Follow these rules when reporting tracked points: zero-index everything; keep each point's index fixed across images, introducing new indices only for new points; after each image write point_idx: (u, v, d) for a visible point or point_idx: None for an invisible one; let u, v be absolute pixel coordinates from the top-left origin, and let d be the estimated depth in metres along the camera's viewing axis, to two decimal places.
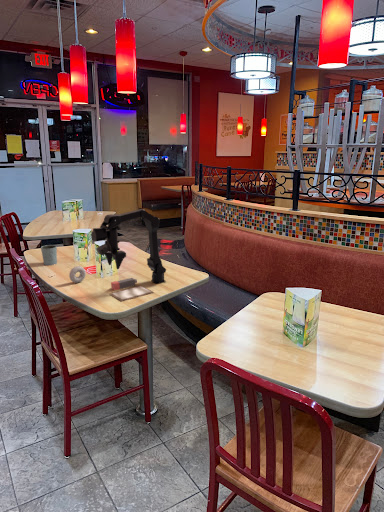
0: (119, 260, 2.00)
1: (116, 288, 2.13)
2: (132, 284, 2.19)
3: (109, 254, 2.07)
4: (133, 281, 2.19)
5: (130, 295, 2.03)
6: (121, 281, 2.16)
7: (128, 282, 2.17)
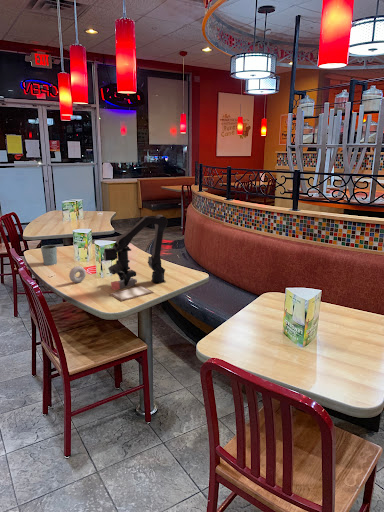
0: (127, 278, 2.14)
1: (116, 288, 2.13)
2: (132, 284, 2.19)
3: (122, 274, 2.18)
4: (133, 281, 2.19)
5: (130, 295, 2.03)
6: (121, 281, 2.16)
7: (128, 282, 2.17)
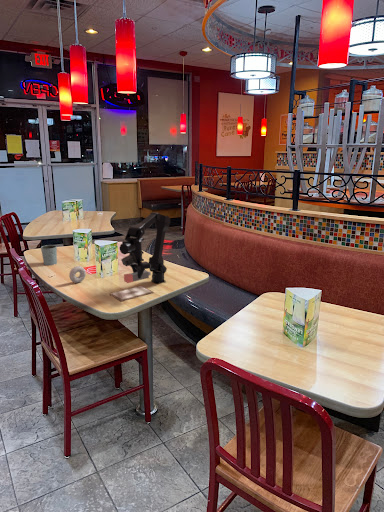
0: (141, 270, 2.04)
1: (129, 281, 2.03)
2: (146, 276, 2.09)
3: (135, 266, 2.08)
4: (147, 273, 2.09)
5: (130, 295, 2.03)
6: (134, 273, 2.06)
7: None
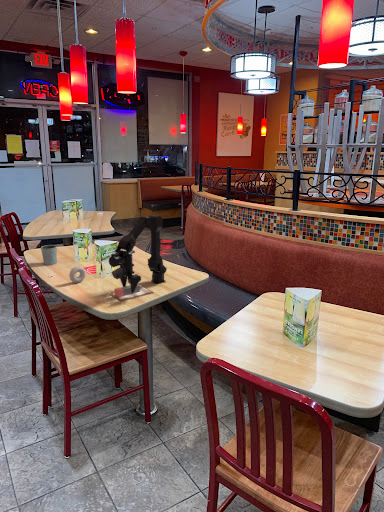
0: (134, 284, 2.00)
1: (120, 295, 2.01)
2: (137, 290, 2.07)
3: (123, 277, 2.08)
4: (138, 287, 2.07)
5: (130, 295, 2.03)
6: (125, 287, 2.04)
7: None
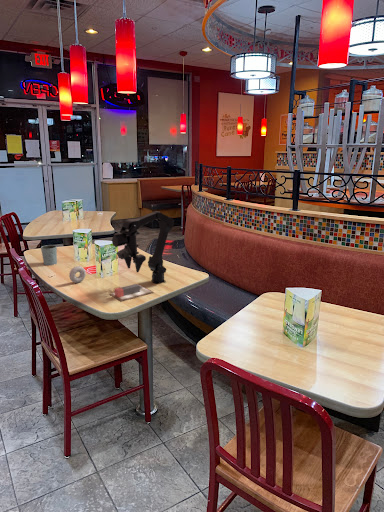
0: (139, 263, 2.06)
1: (120, 295, 2.01)
2: (137, 290, 2.07)
3: (128, 258, 2.14)
4: (138, 287, 2.07)
5: (130, 295, 2.03)
6: (125, 287, 2.04)
7: (132, 288, 2.05)
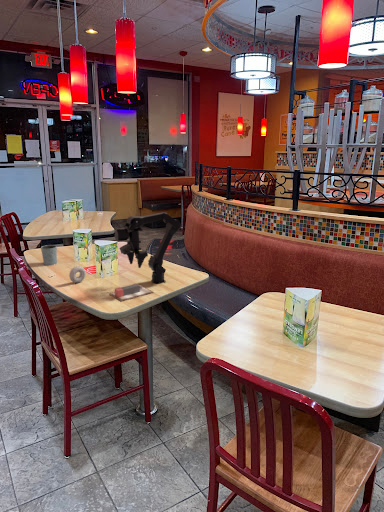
0: (141, 259, 2.10)
1: (120, 295, 2.01)
2: (137, 290, 2.07)
3: (130, 253, 2.18)
4: (138, 287, 2.07)
5: (130, 295, 2.03)
6: (125, 287, 2.04)
7: (132, 288, 2.05)
